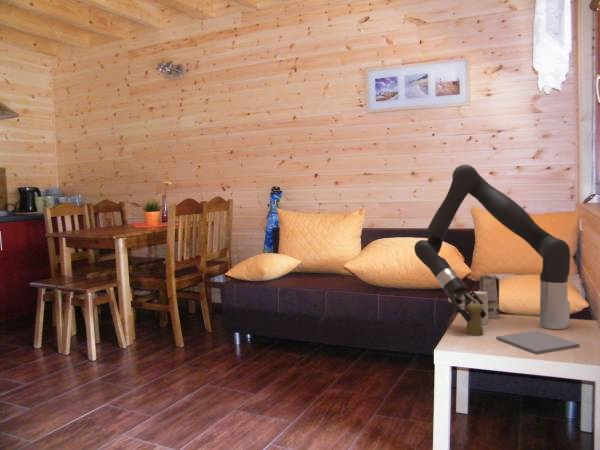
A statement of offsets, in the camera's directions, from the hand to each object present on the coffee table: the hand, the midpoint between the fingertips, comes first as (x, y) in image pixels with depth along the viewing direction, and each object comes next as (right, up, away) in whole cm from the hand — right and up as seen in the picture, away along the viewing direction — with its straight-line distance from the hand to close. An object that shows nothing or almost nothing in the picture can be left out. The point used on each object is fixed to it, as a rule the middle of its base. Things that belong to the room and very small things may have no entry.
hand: (477, 318), depth 186 cm
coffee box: (+14, -4, +26) cm, 30 cm away
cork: (-1, -6, +1) cm, 6 cm away
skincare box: (+6, -5, +15) cm, 17 cm away
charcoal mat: (+16, -6, -12) cm, 21 cm away
